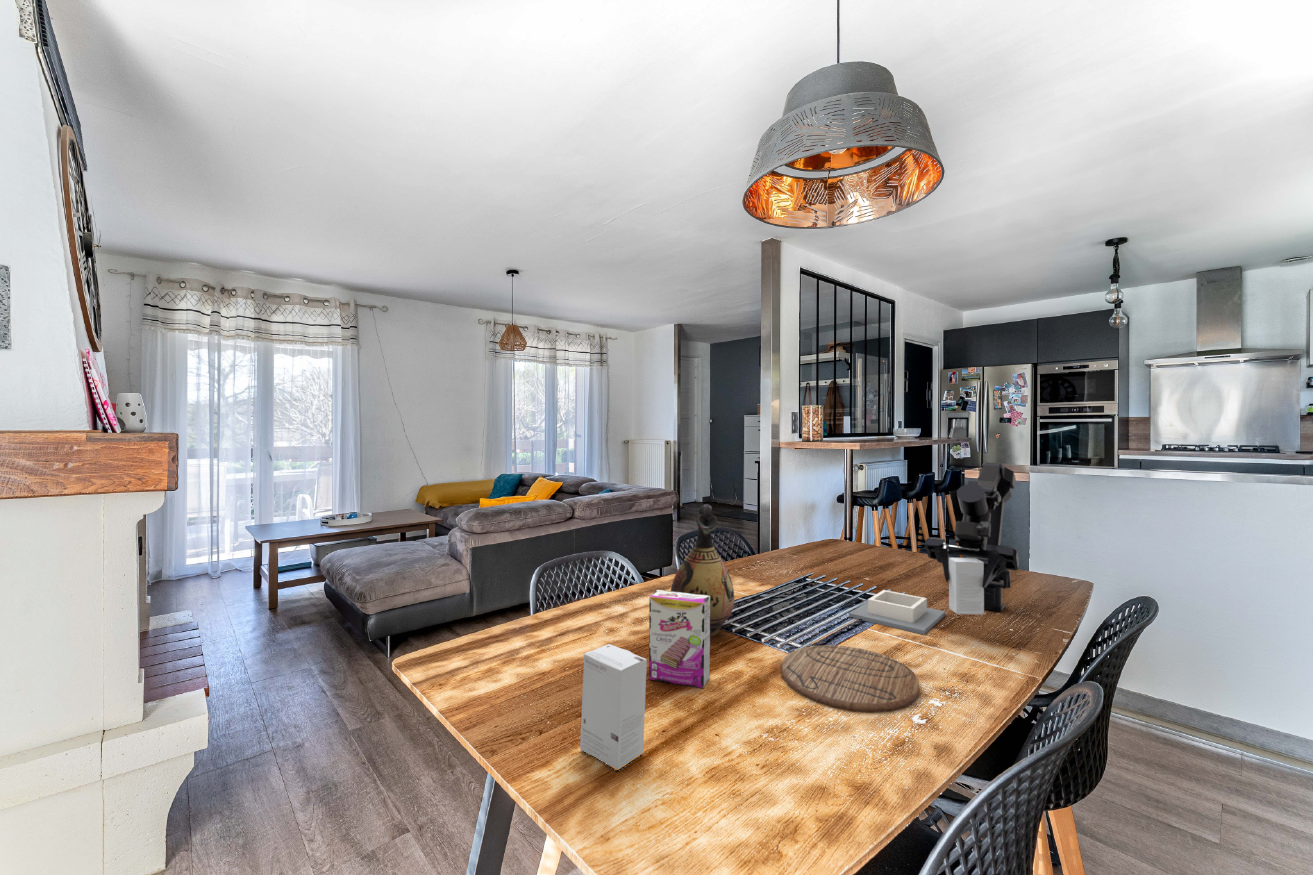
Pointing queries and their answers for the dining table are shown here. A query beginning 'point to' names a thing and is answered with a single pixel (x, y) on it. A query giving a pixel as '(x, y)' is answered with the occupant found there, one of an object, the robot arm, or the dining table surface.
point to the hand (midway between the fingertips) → (964, 584)
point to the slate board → (918, 626)
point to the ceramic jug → (707, 573)
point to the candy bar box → (679, 638)
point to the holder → (897, 606)
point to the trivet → (850, 678)
